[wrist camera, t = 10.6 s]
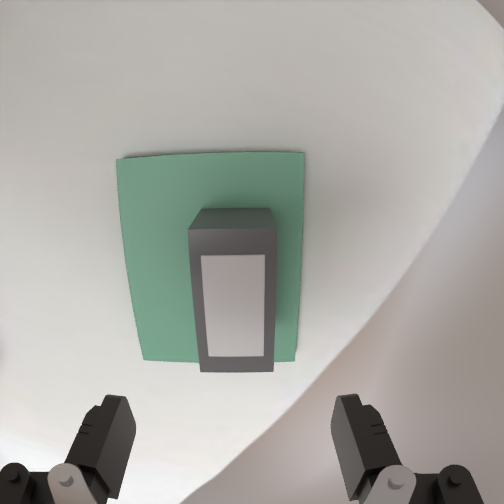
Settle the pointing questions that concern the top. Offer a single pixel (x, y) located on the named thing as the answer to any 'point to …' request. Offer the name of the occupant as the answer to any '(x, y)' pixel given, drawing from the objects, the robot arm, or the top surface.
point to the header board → (176, 237)
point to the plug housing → (234, 288)
